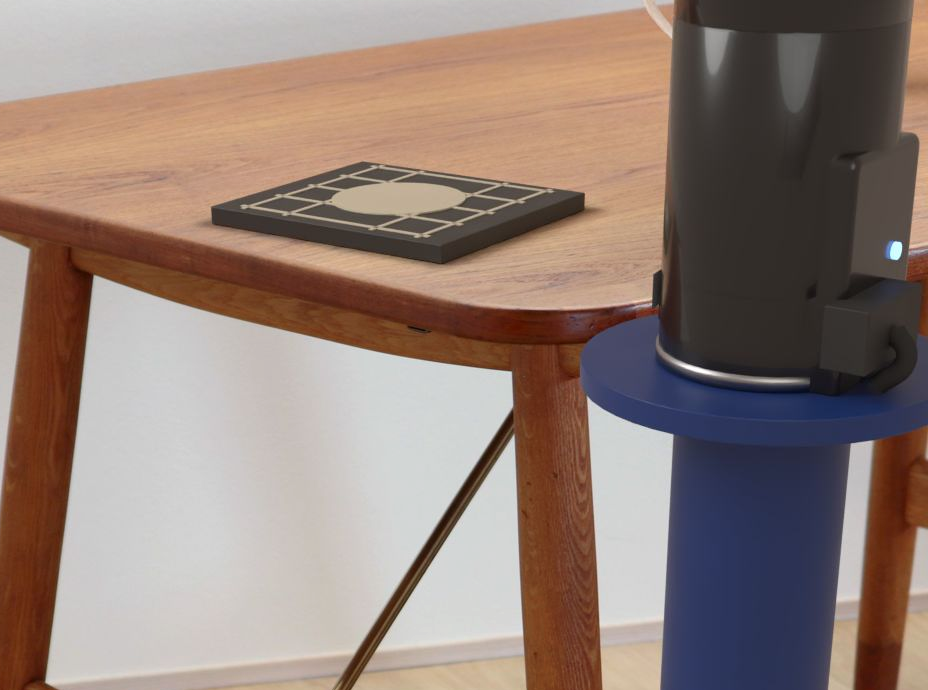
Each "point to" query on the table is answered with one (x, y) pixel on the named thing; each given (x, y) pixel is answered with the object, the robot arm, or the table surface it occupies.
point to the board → (399, 210)
